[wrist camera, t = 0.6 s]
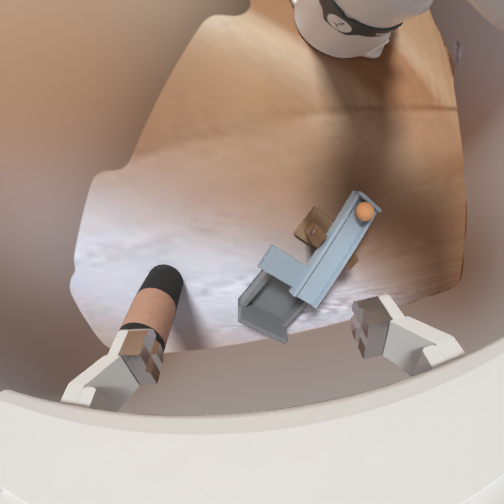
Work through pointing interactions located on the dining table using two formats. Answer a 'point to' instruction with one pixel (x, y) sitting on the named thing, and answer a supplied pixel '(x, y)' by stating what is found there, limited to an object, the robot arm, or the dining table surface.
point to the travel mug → (156, 303)
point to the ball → (364, 211)
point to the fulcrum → (318, 231)
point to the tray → (269, 306)
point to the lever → (321, 255)
